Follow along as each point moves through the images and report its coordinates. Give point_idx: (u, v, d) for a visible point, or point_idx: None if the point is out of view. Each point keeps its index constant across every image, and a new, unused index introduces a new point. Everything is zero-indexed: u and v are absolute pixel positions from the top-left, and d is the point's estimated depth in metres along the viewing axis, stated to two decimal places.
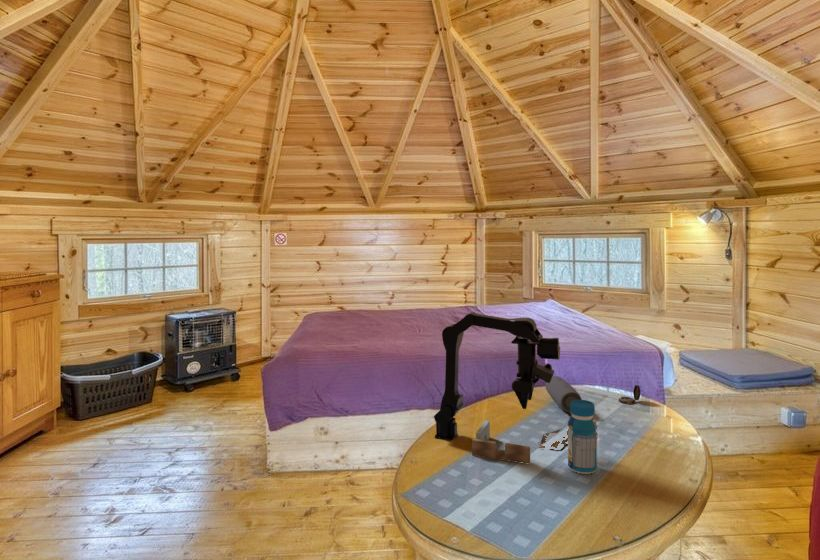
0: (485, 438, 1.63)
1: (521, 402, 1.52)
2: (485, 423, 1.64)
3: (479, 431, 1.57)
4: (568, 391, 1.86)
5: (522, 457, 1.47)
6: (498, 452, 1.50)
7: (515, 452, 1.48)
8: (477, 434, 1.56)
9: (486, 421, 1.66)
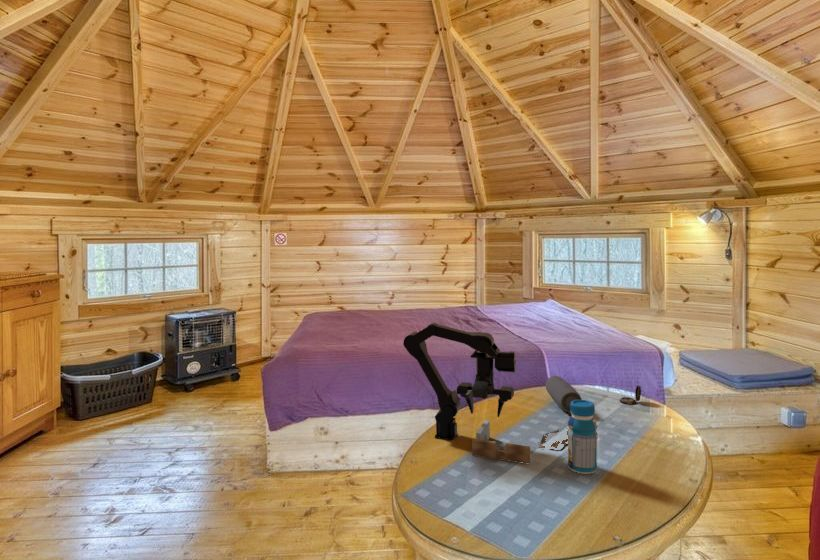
0: (485, 438, 1.63)
1: None
2: (485, 423, 1.64)
3: (479, 431, 1.57)
4: (568, 391, 1.86)
5: (522, 457, 1.47)
6: (498, 452, 1.50)
7: (515, 452, 1.48)
8: (477, 434, 1.56)
9: (486, 421, 1.66)
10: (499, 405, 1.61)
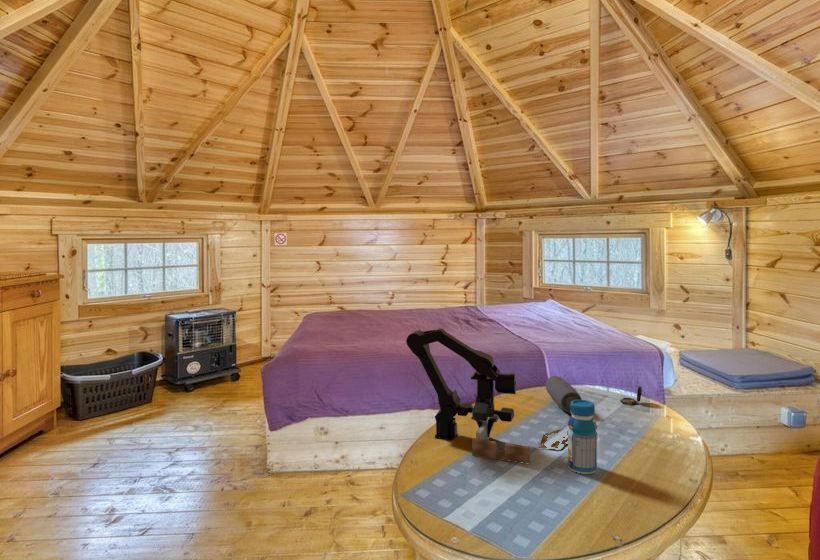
0: (485, 438, 1.63)
1: None
2: (485, 423, 1.64)
3: (479, 431, 1.57)
4: (568, 391, 1.86)
5: (522, 457, 1.47)
6: (498, 452, 1.50)
7: (515, 452, 1.48)
8: (477, 434, 1.56)
9: (486, 421, 1.66)
10: (489, 425, 1.63)
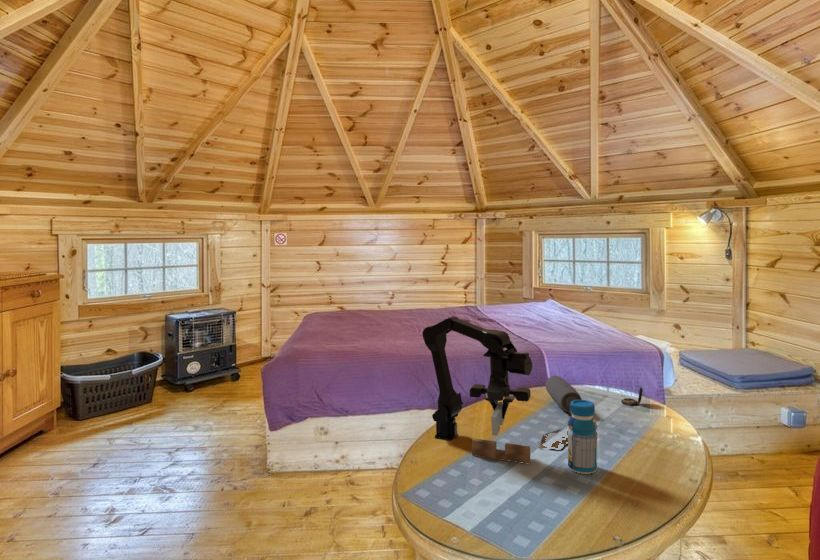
0: (500, 421, 1.53)
1: None
2: (499, 405, 1.54)
3: (494, 414, 1.47)
4: (568, 390, 1.86)
5: (522, 457, 1.47)
6: (498, 452, 1.50)
7: (515, 452, 1.48)
8: (492, 418, 1.46)
9: (500, 403, 1.56)
10: (504, 406, 1.53)
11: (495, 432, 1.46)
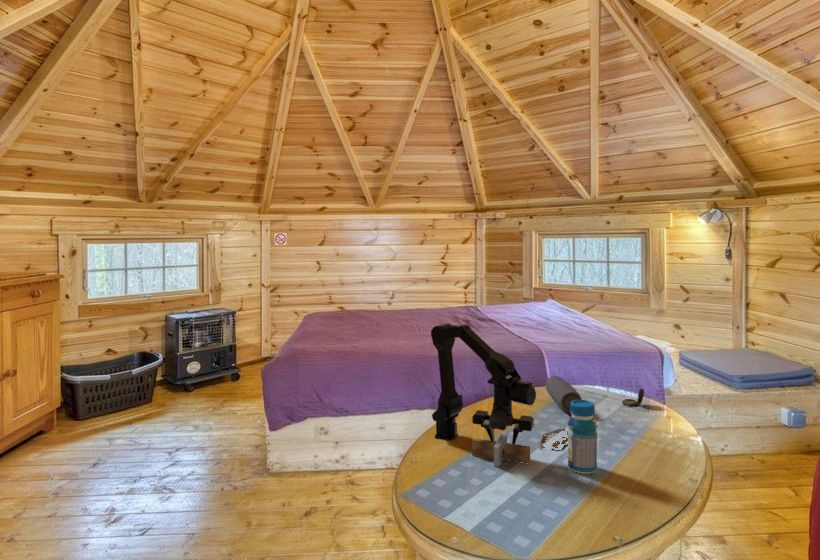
0: None
1: None
2: (502, 436, 1.53)
3: (497, 445, 1.46)
4: (568, 391, 1.86)
5: (522, 457, 1.47)
6: None
7: (515, 452, 1.48)
8: (495, 448, 1.45)
9: (503, 433, 1.55)
10: (514, 435, 1.50)
11: (497, 463, 1.45)
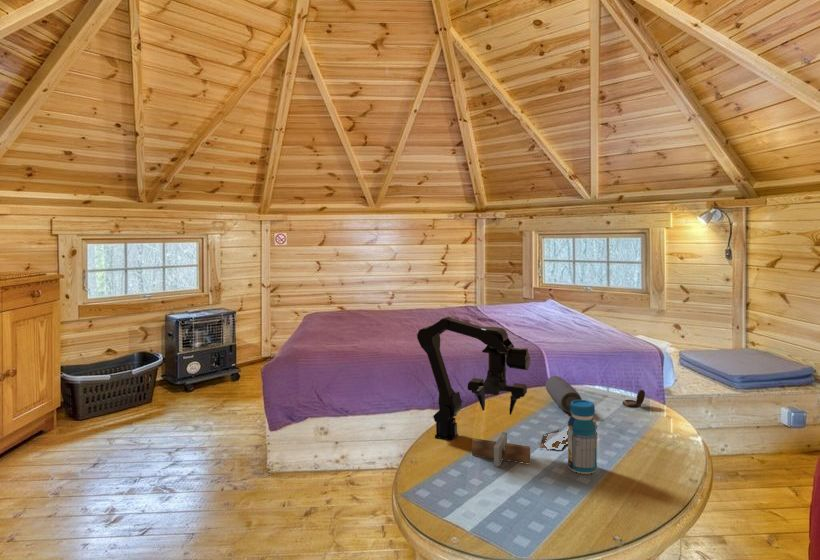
0: None
1: None
2: (502, 436, 1.53)
3: (497, 445, 1.46)
4: (568, 391, 1.86)
5: (522, 457, 1.47)
6: None
7: (515, 452, 1.48)
8: (495, 448, 1.45)
9: (503, 433, 1.55)
10: (511, 402, 1.56)
11: (497, 463, 1.45)
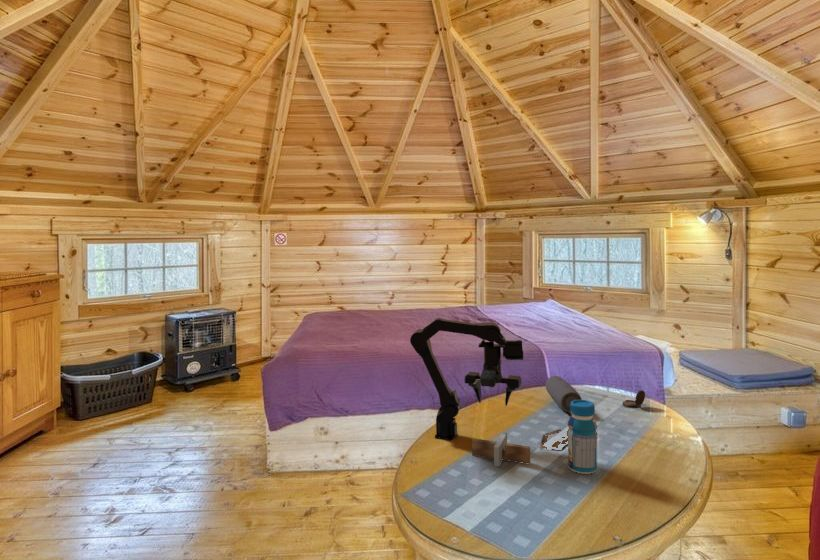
0: None
1: None
2: (503, 436, 1.53)
3: (497, 445, 1.46)
4: (568, 391, 1.86)
5: (522, 457, 1.47)
6: None
7: (515, 452, 1.48)
8: (495, 448, 1.45)
9: (503, 433, 1.55)
10: (507, 394, 1.62)
11: (497, 463, 1.45)
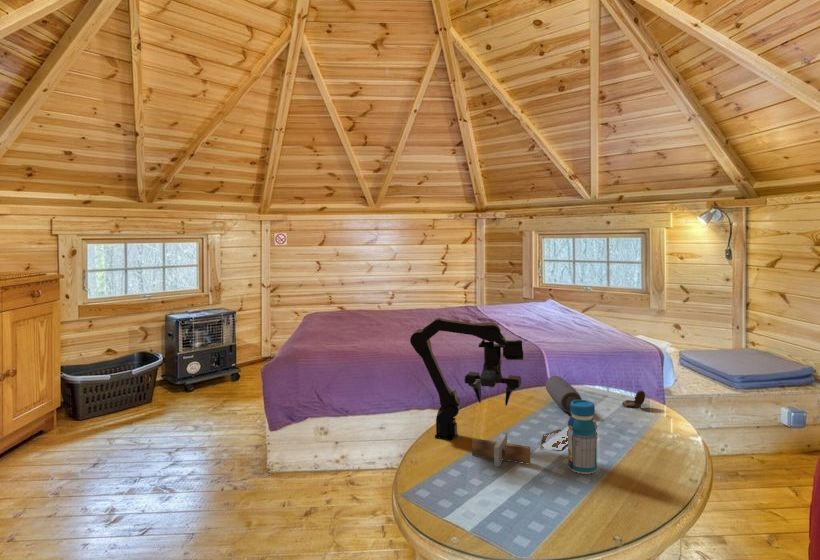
0: None
1: None
2: (503, 436, 1.53)
3: (497, 445, 1.46)
4: (568, 391, 1.86)
5: (522, 457, 1.47)
6: None
7: (515, 452, 1.48)
8: (495, 448, 1.45)
9: (503, 433, 1.55)
10: (507, 394, 1.62)
11: (497, 463, 1.45)
